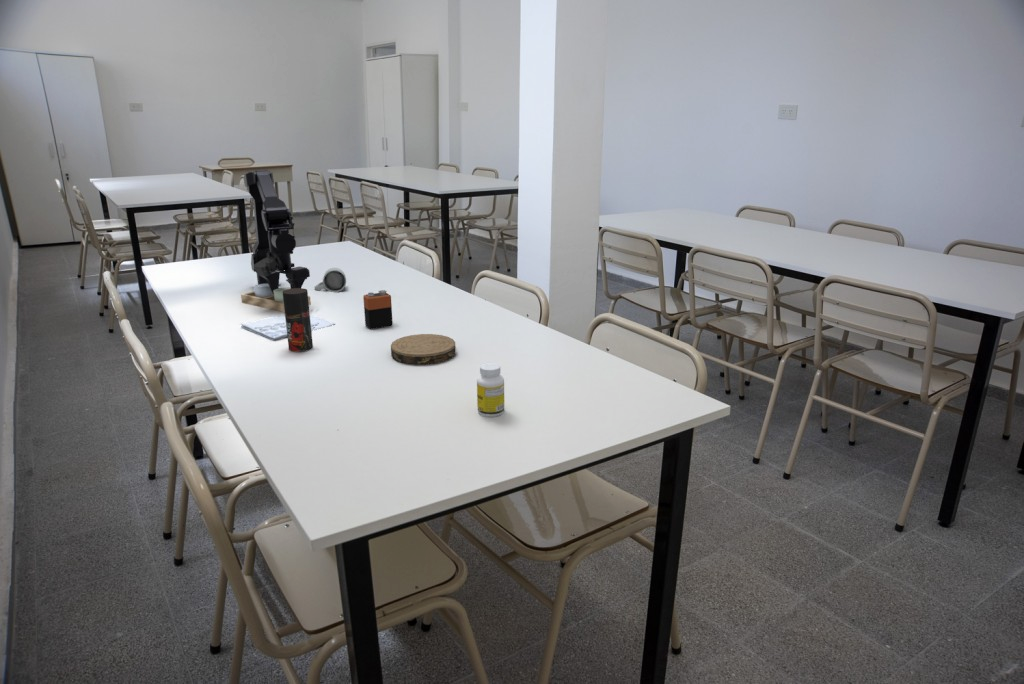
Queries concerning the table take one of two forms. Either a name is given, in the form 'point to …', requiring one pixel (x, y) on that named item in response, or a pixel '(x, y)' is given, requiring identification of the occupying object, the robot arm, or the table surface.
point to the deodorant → (297, 319)
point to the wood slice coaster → (423, 349)
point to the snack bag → (280, 326)
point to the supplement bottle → (490, 390)
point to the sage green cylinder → (279, 294)
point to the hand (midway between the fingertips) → (285, 297)
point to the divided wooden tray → (264, 301)
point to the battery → (378, 310)
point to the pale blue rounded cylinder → (263, 290)
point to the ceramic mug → (332, 280)
